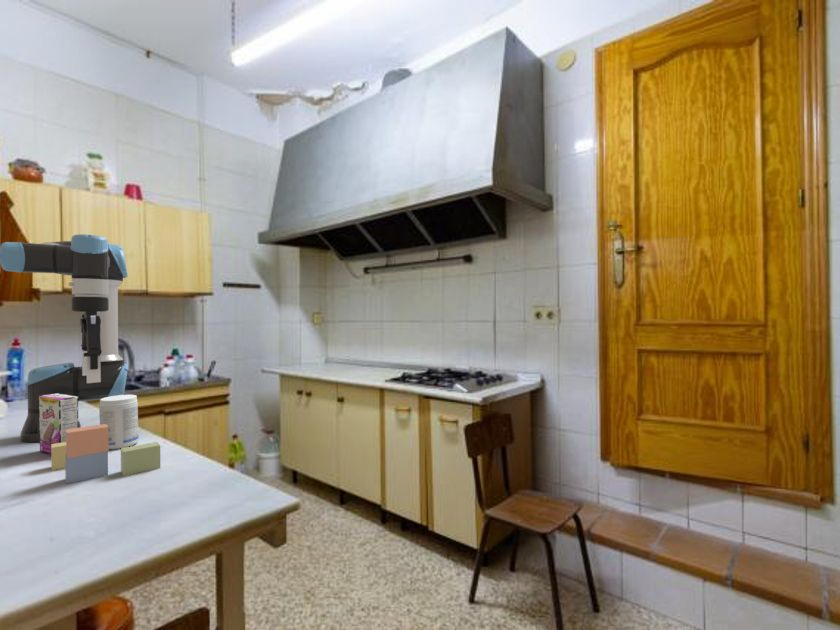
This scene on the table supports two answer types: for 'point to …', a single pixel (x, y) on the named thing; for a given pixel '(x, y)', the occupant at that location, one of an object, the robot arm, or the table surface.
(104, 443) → the terracotta brick
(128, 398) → the supplement tub
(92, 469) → the slate-blue brick
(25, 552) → the table surface
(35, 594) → the table surface
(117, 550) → the table surface
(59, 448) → the ochre brick
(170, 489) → the table surface
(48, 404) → the candy bar box
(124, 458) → the olive brick
